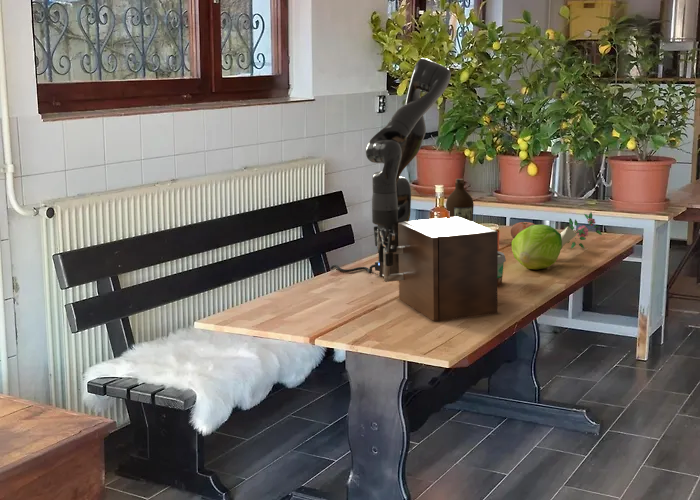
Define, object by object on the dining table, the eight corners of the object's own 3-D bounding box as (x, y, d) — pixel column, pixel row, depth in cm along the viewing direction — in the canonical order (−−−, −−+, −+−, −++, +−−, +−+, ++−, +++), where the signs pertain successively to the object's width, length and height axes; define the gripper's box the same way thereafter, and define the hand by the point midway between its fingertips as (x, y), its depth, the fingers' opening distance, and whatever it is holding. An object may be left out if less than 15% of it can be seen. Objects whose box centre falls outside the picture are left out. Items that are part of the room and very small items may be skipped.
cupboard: (439, 321, 261) (438, 236, 256) (404, 298, 285) (403, 221, 280) (497, 313, 266) (497, 231, 261) (458, 292, 291) (458, 216, 286)
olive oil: (442, 241, 368) (442, 178, 363) (468, 239, 370) (467, 176, 365) (451, 246, 358) (451, 181, 353) (477, 244, 360) (477, 180, 355)
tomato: (541, 244, 357) (541, 223, 356) (512, 245, 358) (513, 224, 356) (536, 238, 368) (536, 218, 366) (508, 239, 368) (508, 219, 366)
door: (414, 323, 259) (412, 239, 254) (381, 301, 283) (379, 224, 278) (438, 320, 261) (438, 237, 256) (403, 298, 285) (402, 222, 280)
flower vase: (541, 279, 334) (577, 240, 360) (572, 273, 326) (607, 234, 352) (530, 249, 332) (567, 213, 358) (560, 243, 324) (596, 206, 350)
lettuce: (503, 278, 316) (496, 235, 313) (530, 261, 331) (524, 219, 328) (548, 279, 306) (542, 234, 302) (573, 261, 321) (568, 218, 317)
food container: (504, 289, 292) (505, 258, 290) (484, 289, 294) (485, 258, 292) (506, 280, 304) (506, 250, 302) (487, 279, 305) (487, 249, 303)
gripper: (364, 204, 279) (365, 260, 283) (381, 212, 266) (382, 270, 270) (387, 202, 282) (389, 257, 285) (405, 210, 268) (406, 267, 272)
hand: (385, 263), depth 278 cm, fingers open, 5 cm apart
